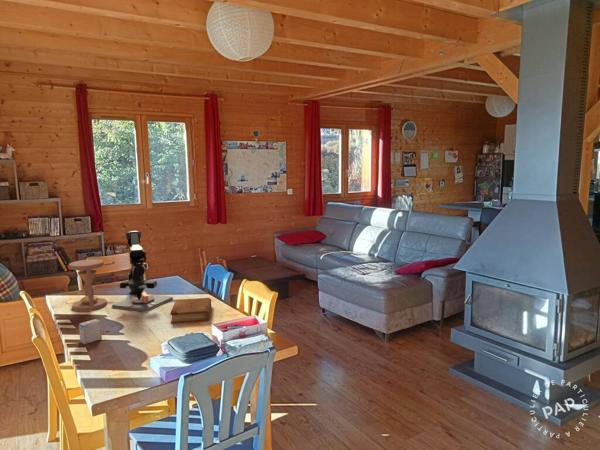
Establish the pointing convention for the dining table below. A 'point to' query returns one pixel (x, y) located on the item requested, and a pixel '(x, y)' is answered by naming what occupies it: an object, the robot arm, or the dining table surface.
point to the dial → (143, 298)
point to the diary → (191, 310)
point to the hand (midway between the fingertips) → (139, 299)
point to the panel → (143, 306)
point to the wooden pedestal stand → (88, 285)
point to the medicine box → (90, 331)
